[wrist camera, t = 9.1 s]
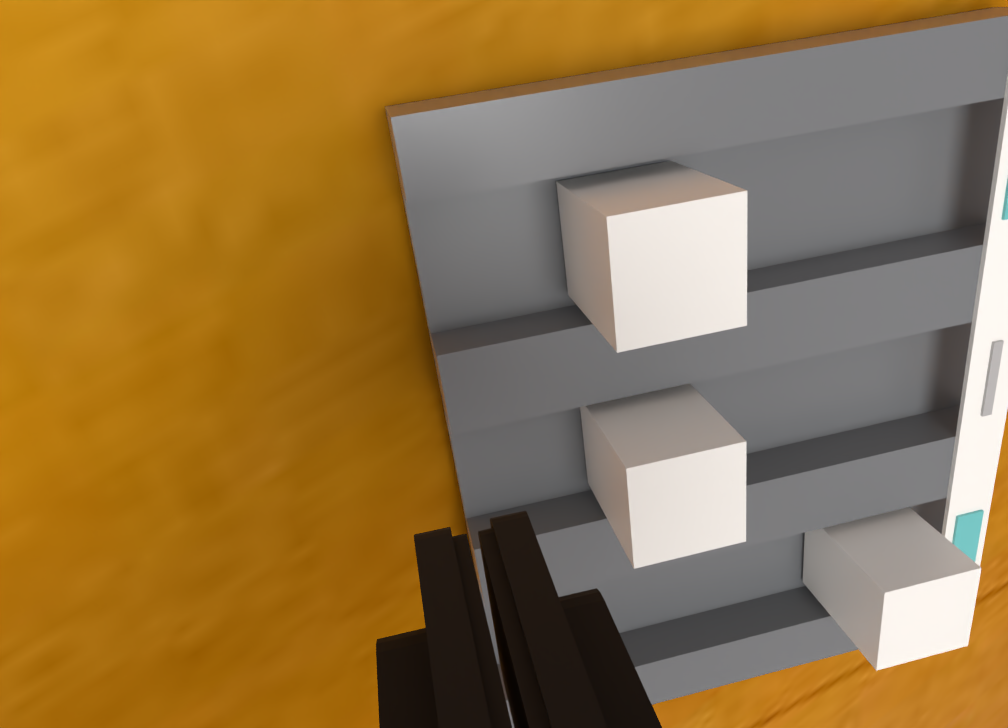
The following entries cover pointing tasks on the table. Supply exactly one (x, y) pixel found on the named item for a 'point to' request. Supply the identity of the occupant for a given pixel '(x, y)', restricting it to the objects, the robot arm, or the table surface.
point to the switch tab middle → (666, 473)
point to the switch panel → (744, 350)
